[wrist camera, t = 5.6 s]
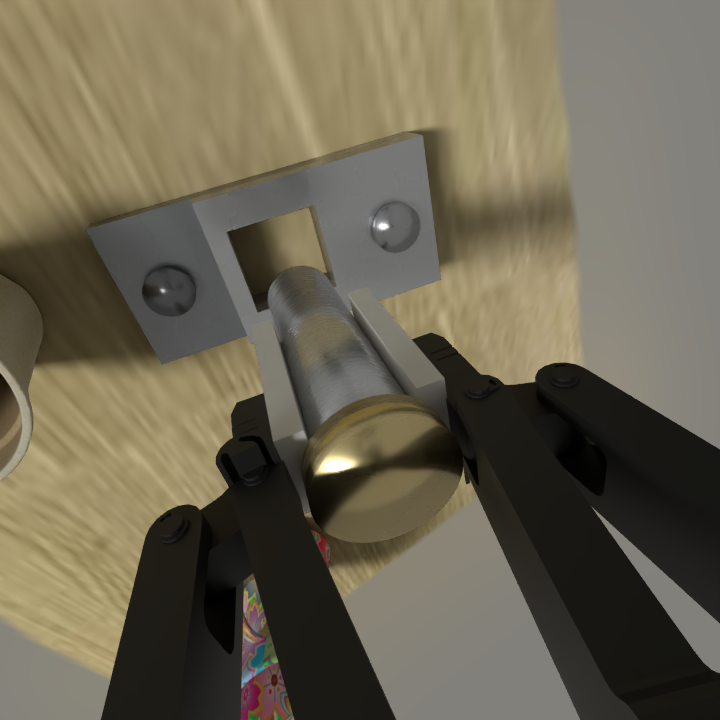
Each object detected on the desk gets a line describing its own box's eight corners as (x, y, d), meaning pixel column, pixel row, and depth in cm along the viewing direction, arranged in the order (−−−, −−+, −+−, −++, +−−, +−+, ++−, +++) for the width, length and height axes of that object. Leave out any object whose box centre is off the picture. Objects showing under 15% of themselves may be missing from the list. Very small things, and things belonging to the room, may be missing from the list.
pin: (246, 272, 19) (286, 457, 9) (330, 245, 20) (455, 395, 10) (274, 346, 21) (332, 563, 11) (349, 320, 22) (469, 507, 12)
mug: (349, 552, 41) (388, 676, 33) (262, 603, 41) (278, 740, 33) (281, 479, 35) (307, 611, 26) (177, 540, 35) (168, 692, 26)
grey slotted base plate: (90, 223, 22) (76, 240, 20) (405, 131, 25) (427, 136, 22) (163, 354, 27) (159, 380, 24) (425, 266, 29) (445, 283, 26)
